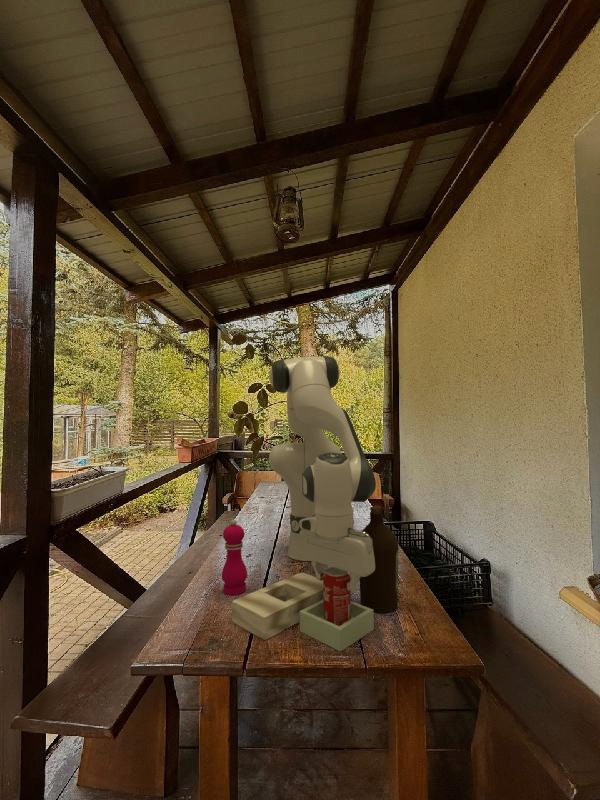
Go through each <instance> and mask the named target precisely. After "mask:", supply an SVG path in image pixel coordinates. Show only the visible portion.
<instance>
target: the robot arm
mask: <svg viewBox="0 0 600 800" xmlns="http://www.w3.org/2000/svg"><path fill="white" fill-rule="evenodd" d="M340 371H341V370H340V367H339V364H338V361H337V360H336V359H335V358H334V356H329V355H324V356H318V355H317V356H316V355H315V356H301V357H293V358H292V357H291V358H287V359H283V358H282V359H278V360H275V361H273V363H271V366H270V369H269V372H268V377H269V382H270V385H271V386H272V389H273V390H274V391H275V392H276V393H280V394H281V393H282V394H286V410H287V411H286V413H287V426H288V428H289V430H290V431H291V432H292V433H293V434H295V435H297V436H299V437H301V438H303V440H305V442H286V443H280V444H276V445H274V446H273V447H272V448H271V450H270V452H269V456H268V461H269V463H268V464H269V465H270V468H271V469H272V471H274V473H276V474H277V475H279V476H280V478H282V479H283V481H284V483H285V484H286V486H287V489H288V492H289V498H290V514H289V524H290V529H289V530H290V531H289V540H288V541H289V543H288V546H287V553H286V554H287V555H286V556H287V557H288V558H290V559H293V560H296V561H302V562H310V561H311V566H312V568H313V570H314V572H315V577H316V579H317V580H320V581H322V580H323V576H324V575H325V573H326V570H323V568H322V565H326V566H329V567H330V568H332V567H334V568H338V569H341V570H344V571H347V573H350V574H349V576H350V578H351V582H349V583H347V587H348V588H347V590H348V591H350V592H351V593H353V594H354V593H355V592H357V590H358V583H359V579H360V577H361V576H362V577H366V576H368V575H370V574H372V573H373V572H374V571H375V559H374V552H373V543H372V539H371V538H370V536H369V535H368V534H367V533H366V532H364V531H362V530H358V529H355V527H354V524H355V522H353V520H354V507H353V505H352V503H355V502H356V503H365V502H366V501H367V500H369V499H370V498H371V497H372V496H373V494H374V493H375V491H376V489H377V483H376V477H375V473H374V469H372V467H371V465H370V464H369V461H368V460H367V457H366V455H365V452H364V449H363V447H362V445H361V442H360V440H359V438H358V435H357V433H356V429H355V427H354V425H353V422H352V420H351V417H350V416H349V414H348V412H347V411H346V409H344V408H343V407H341V406H339V404H338V403H337V402H336V401H335V399H334V398H333V395H332V393H331V389H333V388H335V387H336V386H337V384H338V383H339V379H340V373H341V372H340ZM324 431H325V432H328V433H331V434H333V435H334V436H335V437H337V439H338V440H339V442H340V445H341V448H342V450H343V453H344V454H343V453H342V450H341V449H340V447H339V446H338V444H336V443H334V442H333V441H332V440H330V438H328V436H327V435H326V434H325V432H324ZM366 536H367V537H366ZM321 564H322V565H321Z"/></svg>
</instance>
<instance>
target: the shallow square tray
mask: <svg viewBox="0 0 600 800" xmlns="http://www.w3.org/2000/svg"><path fill="white" fill-rule="evenodd" d="M351 618H352V619H351V620H349V621H348V622H346V623H344V624H343V625H341V626H337V625H335V624H333V623H331V622H328V621H326V620H324V599H323V600H321V601H319V602H317V603H315V604H313V605H311V606H309V607H307V608H305V609H303V610H301V611H300V622H299V632H301V633H303V634H304V635H306V636H308V637H310V638H313V639H314V640H317V641H319V642H320V643H323V644H324V645H326V646H329V647H330V648H333V649H335V651H336V650H337V651H339V652H342V651H344V650H346V649H347V648H348V647H350V646H351V645H353V644H354V643H356V642H357V641H359V640H360V639H362V638H363V637H365V636H367V635H368V634H369V633H370V631H371V632H373V631H374V630H373V629H375V624H374V622H375V621H374V618H375V617H374V612H373V609H370V608H368V607H365V606H363V605H361V603H357V602H354V601H352V600H351ZM367 633H368V634H367Z"/></svg>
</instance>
